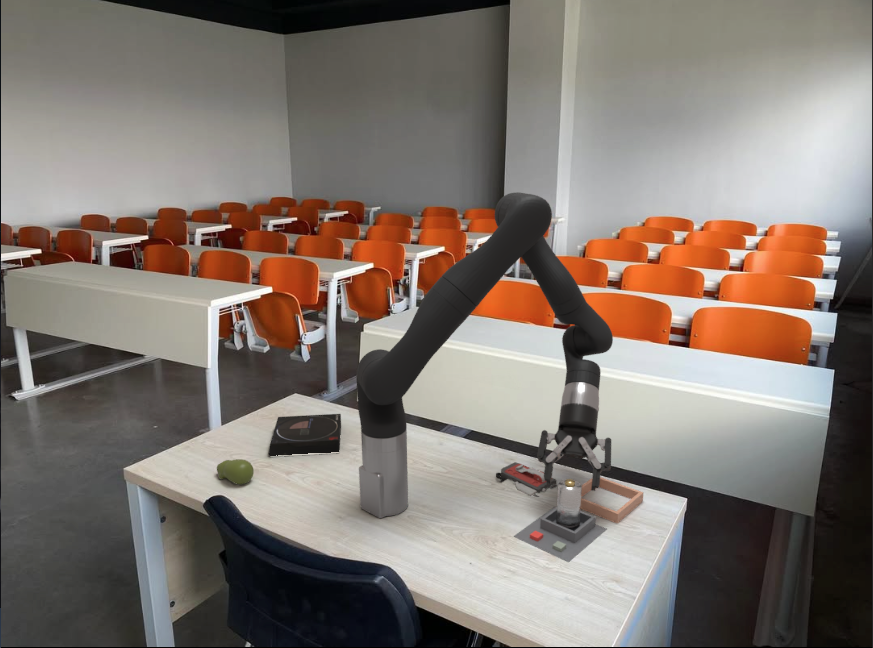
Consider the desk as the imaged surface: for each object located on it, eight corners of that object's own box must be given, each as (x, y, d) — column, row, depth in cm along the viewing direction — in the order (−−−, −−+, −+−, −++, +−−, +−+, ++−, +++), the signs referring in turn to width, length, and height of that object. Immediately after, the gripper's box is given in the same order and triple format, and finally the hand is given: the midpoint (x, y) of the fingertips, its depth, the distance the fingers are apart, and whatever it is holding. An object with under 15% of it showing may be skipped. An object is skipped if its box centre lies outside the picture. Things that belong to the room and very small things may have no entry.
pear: (236, 467, 144) (208, 462, 150) (240, 490, 145) (213, 484, 151) (256, 457, 149) (228, 453, 154) (260, 479, 149) (233, 474, 155)
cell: (571, 536, 125) (574, 489, 122) (551, 527, 128) (553, 481, 125) (584, 526, 128) (586, 480, 125) (563, 518, 131) (566, 473, 128)
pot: (616, 530, 129) (617, 514, 128) (567, 510, 137) (568, 494, 136) (642, 507, 137) (643, 492, 136) (594, 489, 144) (595, 475, 143)
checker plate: (568, 569, 118) (569, 552, 117) (513, 543, 125) (513, 526, 125) (606, 535, 128) (607, 519, 127) (553, 513, 135) (554, 498, 134)
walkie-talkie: (488, 483, 148) (560, 519, 134) (488, 465, 147) (561, 500, 133) (514, 470, 154) (586, 504, 140) (514, 453, 153) (587, 485, 138)
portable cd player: (276, 430, 177) (275, 417, 176) (341, 427, 178) (340, 413, 177) (268, 459, 161) (267, 443, 160) (339, 454, 163) (338, 440, 162)
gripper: (543, 398, 135) (532, 475, 127) (615, 405, 130) (608, 486, 123) (545, 412, 141) (535, 487, 133) (615, 420, 137) (608, 497, 129)
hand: (570, 486), depth 128 cm, fingers open, 8 cm apart
